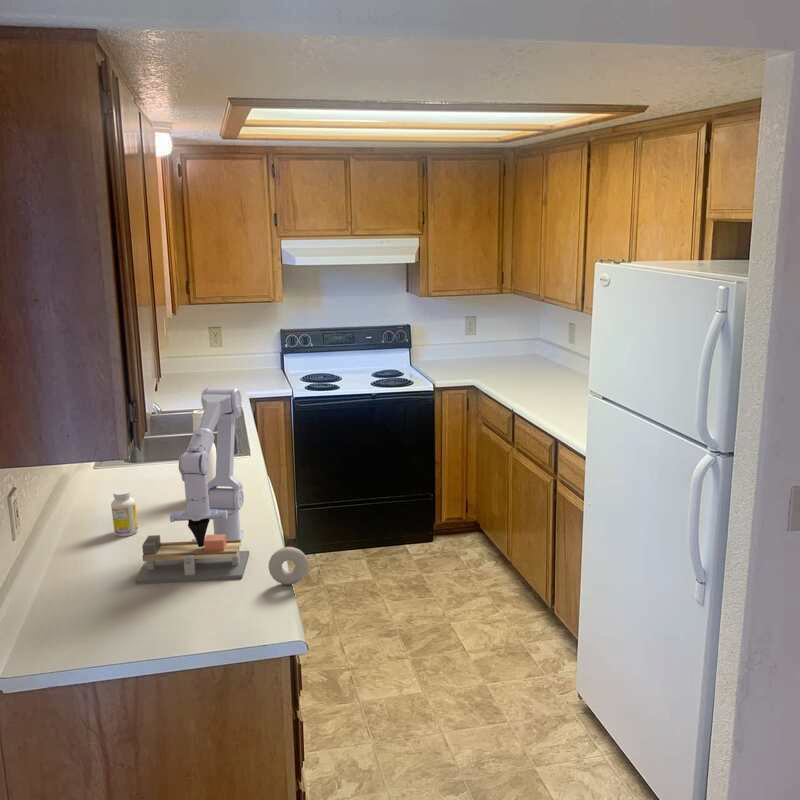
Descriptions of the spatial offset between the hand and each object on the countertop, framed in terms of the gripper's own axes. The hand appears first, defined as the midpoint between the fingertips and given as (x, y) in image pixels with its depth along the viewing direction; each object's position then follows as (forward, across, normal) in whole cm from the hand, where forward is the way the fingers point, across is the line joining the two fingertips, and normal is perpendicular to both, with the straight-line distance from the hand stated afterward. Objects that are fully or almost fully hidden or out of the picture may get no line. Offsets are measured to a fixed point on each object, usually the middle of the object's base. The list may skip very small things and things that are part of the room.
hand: (201, 545), depth 210 cm
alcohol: (+7, -9, +52) cm, 53 cm away
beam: (+1, -2, 0) cm, 3 cm away
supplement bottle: (+7, -28, +27) cm, 39 cm away
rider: (+1, +4, 0) cm, 4 cm away
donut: (+7, +24, -12) cm, 27 cm away
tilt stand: (+6, -2, 0) cm, 7 cm away
